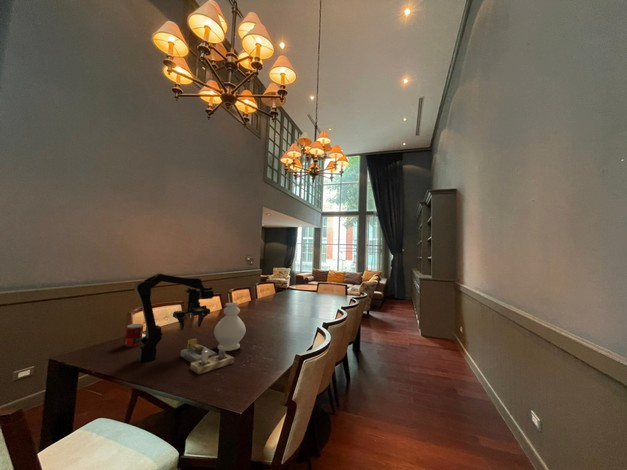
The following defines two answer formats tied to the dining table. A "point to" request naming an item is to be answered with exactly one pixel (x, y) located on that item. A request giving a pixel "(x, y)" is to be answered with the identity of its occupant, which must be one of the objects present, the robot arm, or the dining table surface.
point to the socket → (196, 354)
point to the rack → (212, 363)
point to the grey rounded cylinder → (204, 357)
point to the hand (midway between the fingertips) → (190, 328)
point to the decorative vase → (230, 328)
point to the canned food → (133, 335)
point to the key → (193, 344)
